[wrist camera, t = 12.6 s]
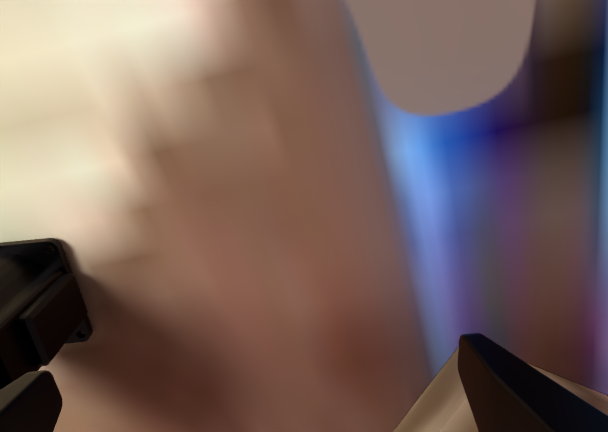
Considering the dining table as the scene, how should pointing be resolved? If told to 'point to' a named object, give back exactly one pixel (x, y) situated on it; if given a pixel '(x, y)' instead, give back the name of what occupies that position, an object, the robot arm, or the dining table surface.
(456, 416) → the base board
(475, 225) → the dining table surface
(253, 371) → the dining table surface
